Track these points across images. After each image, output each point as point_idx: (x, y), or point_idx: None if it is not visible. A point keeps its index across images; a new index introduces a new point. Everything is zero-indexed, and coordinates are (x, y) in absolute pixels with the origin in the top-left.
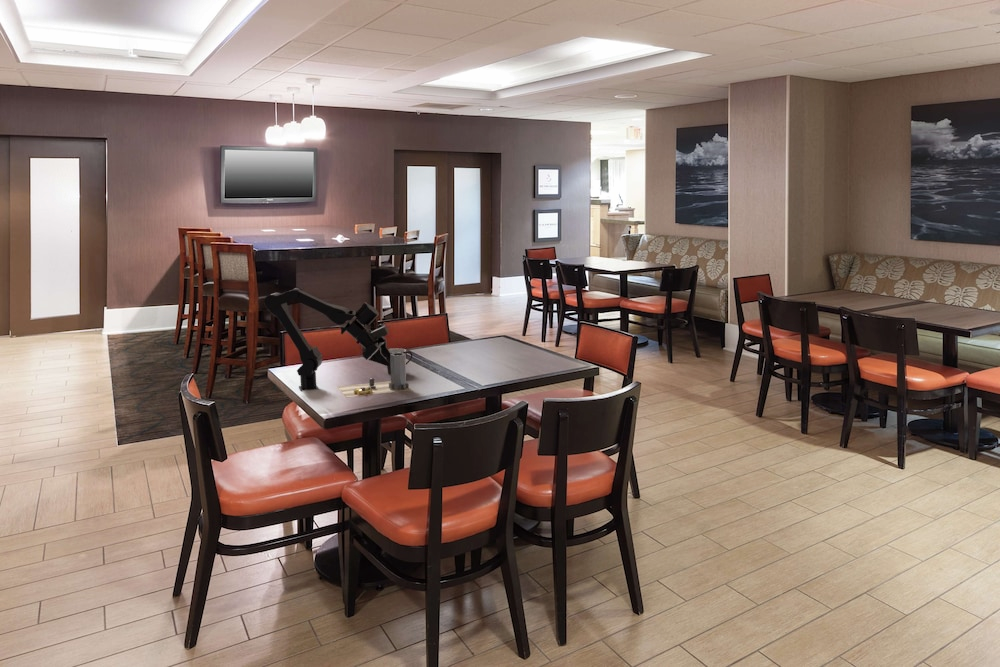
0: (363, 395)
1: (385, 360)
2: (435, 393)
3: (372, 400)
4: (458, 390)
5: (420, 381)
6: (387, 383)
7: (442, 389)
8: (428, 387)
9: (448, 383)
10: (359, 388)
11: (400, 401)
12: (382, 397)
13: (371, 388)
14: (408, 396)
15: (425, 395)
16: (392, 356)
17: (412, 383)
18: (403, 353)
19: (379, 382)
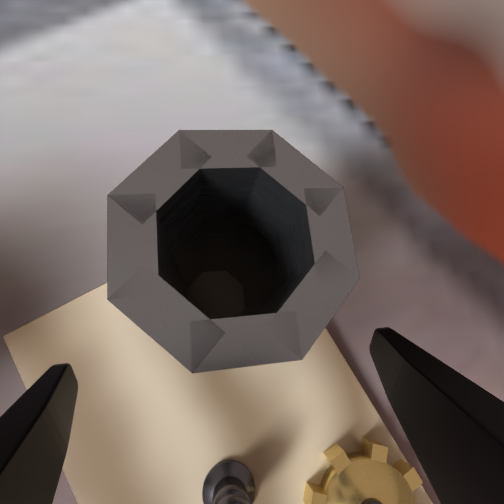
0: None
1: (457, 380)
2: (270, 103)
3: None
4: (204, 14)
5: (9, 208)
6: (105, 408)
7: (192, 78)
8: (157, 146)
9: (64, 58)
10: None
11: (432, 238)
12: None
13: (332, 460)
14: None
15: (312, 142)
16: (332, 309)
17: (62, 248)
18: (167, 163)
19: (74, 484)
